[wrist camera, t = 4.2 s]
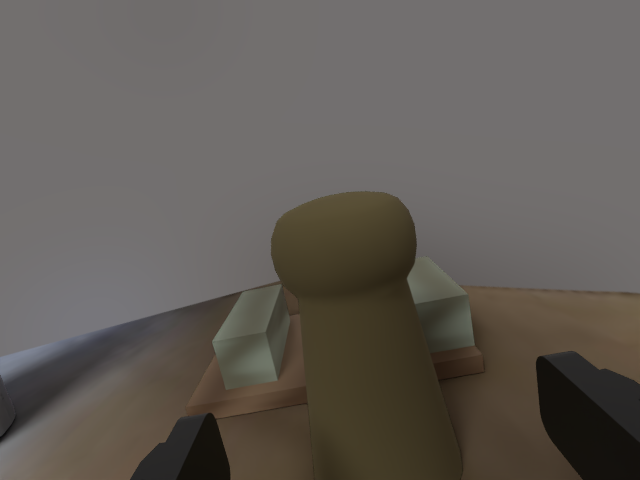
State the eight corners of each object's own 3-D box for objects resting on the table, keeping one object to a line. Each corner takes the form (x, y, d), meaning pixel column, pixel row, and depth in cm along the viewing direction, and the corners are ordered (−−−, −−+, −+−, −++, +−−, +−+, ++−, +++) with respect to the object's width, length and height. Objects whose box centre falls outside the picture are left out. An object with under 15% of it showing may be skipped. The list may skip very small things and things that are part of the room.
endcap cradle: (190, 423, 20) (169, 357, 19) (233, 337, 30) (221, 291, 29) (484, 371, 19) (475, 301, 19) (430, 301, 29) (423, 252, 28)
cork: (301, 434, 18) (246, 209, 16) (417, 394, 19) (380, 179, 17) (334, 558, 12) (253, 226, 10) (498, 491, 13) (459, 178, 11)
